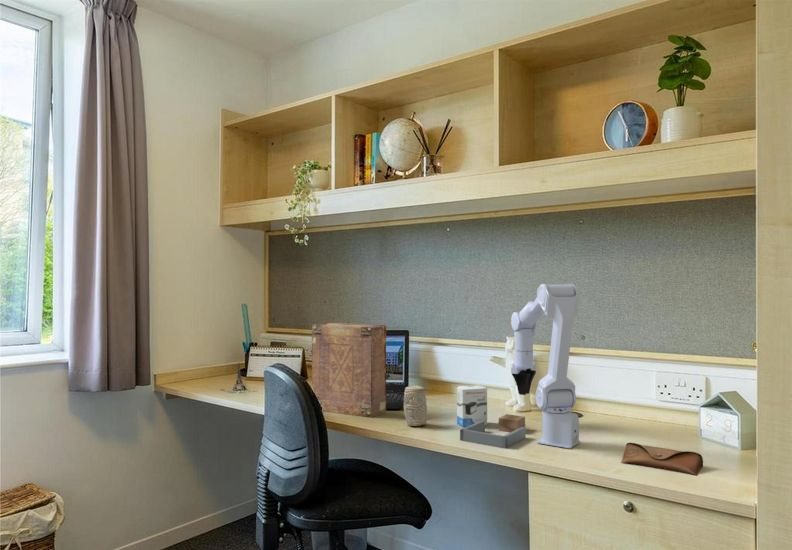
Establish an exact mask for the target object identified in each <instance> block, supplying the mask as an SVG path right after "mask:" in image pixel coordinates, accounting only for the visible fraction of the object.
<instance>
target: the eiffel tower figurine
mask: <svg viewBox="0 0 792 550" xmlns="http://www.w3.org/2000/svg"><path fill="white" fill-rule="evenodd" d="M240 363H241V362H240V361H238V366H237V368H238V369H237V377H236V381H235V383H234V386H233V388H232V390H225V388H224V389H223V388H220V389H218V390H220V391H223V392H227V393H230V394H245V393H246V390H247V387H246V385H244V382H243V381H242V376H241V366H240ZM237 387H239V388H237ZM252 392H254V390H252V391H251V390H250V391H248V393H252Z"/></svg>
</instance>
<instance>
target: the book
mask: <svg viewBox="0 0 792 550" xmlns="http://www.w3.org/2000/svg"><path fill="white" fill-rule="evenodd" d="M312 390H313V391H314V393H315V395H316V397H317V399H318V401H319V403H320V405H321V407H322V410H323V411H322V412H327V413H336V414H343V415H351V416H358V417H366V418H374V417H375V416H376V417H377V416H378V415H381V414H384V413H386V412H387V325H384V324H369V323H364V324H363V323H345V322H343V323H342V322H327V323H326V324H318V323H317V324H315V323H314V324H311V391H312Z"/></svg>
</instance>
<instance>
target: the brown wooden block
mask: <svg viewBox="0 0 792 550" xmlns="http://www.w3.org/2000/svg"><path fill="white" fill-rule="evenodd" d="M521 427H525V428H526V416H523V415H515V414H509V413H506V414H504V415H502V416H500V417H498V432H503V433H510V432H512V431H514V430H517V429H519V428H521Z"/></svg>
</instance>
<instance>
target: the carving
mask: <svg viewBox="0 0 792 550" xmlns="http://www.w3.org/2000/svg"><path fill="white" fill-rule="evenodd" d="M403 394H404V395H403V412H404V418H405V421H406V425H407V426H409V427H419V426H423V425H425V424H426V423H427V421H428V405H427V395H426V389H425V387H423V386H420V385H410V386H406V387H405V388H404V392H403Z"/></svg>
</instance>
